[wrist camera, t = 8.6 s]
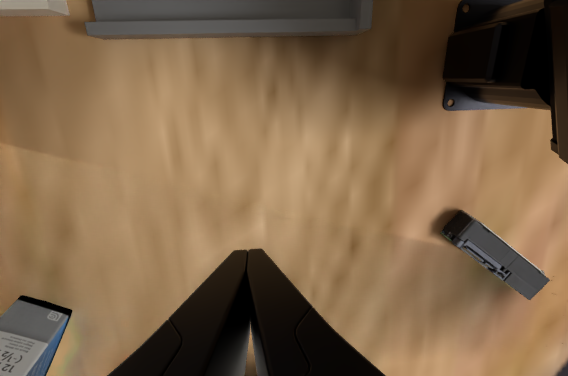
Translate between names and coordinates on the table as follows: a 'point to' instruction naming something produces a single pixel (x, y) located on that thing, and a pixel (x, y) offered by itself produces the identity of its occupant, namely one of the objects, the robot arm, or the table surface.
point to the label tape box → (30, 336)
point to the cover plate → (34, 8)
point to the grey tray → (228, 18)
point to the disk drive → (495, 254)
